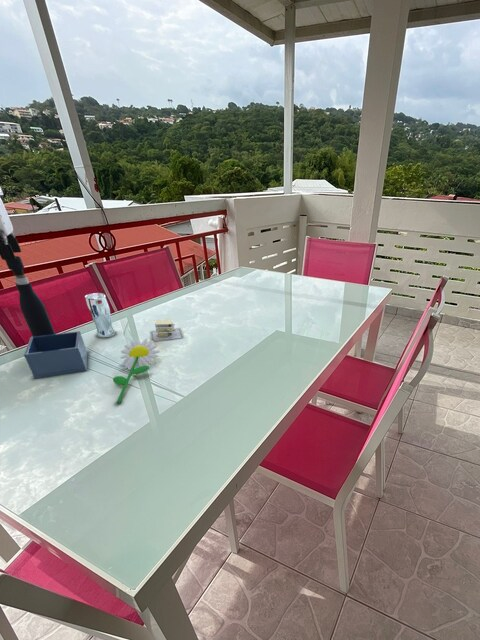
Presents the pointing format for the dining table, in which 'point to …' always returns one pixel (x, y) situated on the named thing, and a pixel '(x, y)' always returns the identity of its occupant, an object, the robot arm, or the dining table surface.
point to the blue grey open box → (56, 354)
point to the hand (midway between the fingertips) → (12, 255)
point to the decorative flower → (136, 361)
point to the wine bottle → (30, 301)
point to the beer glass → (100, 314)
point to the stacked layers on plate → (165, 330)
